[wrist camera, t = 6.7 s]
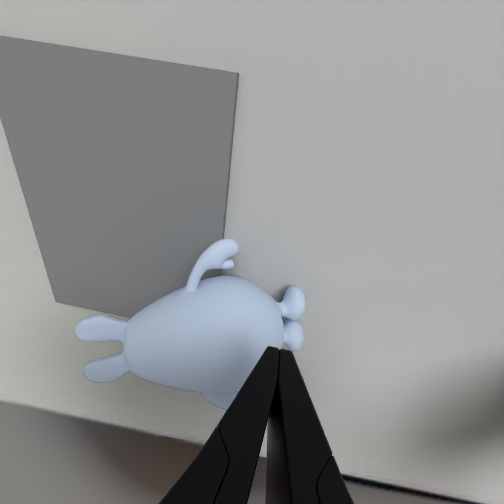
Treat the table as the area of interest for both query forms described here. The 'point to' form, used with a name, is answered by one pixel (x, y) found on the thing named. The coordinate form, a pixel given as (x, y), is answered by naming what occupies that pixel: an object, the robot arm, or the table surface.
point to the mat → (117, 167)
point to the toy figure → (199, 332)
